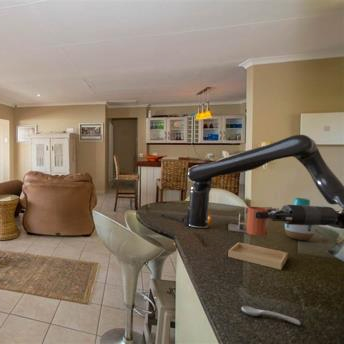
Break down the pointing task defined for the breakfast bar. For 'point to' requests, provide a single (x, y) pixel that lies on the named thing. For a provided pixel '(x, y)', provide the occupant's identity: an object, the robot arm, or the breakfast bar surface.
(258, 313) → the spoon
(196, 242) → the breakfast bar surface
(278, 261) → the tray
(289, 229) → the vase
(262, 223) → the cup
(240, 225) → the architectural model
